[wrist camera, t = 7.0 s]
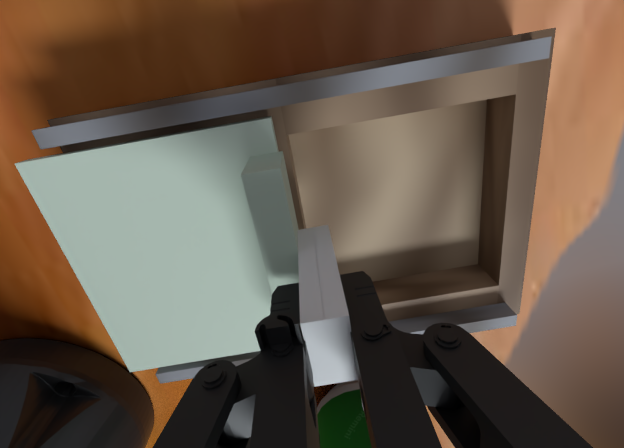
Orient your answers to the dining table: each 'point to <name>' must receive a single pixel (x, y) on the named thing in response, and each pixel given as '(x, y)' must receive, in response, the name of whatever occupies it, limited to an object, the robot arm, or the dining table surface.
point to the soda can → (343, 418)
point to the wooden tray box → (389, 169)
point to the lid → (175, 237)
